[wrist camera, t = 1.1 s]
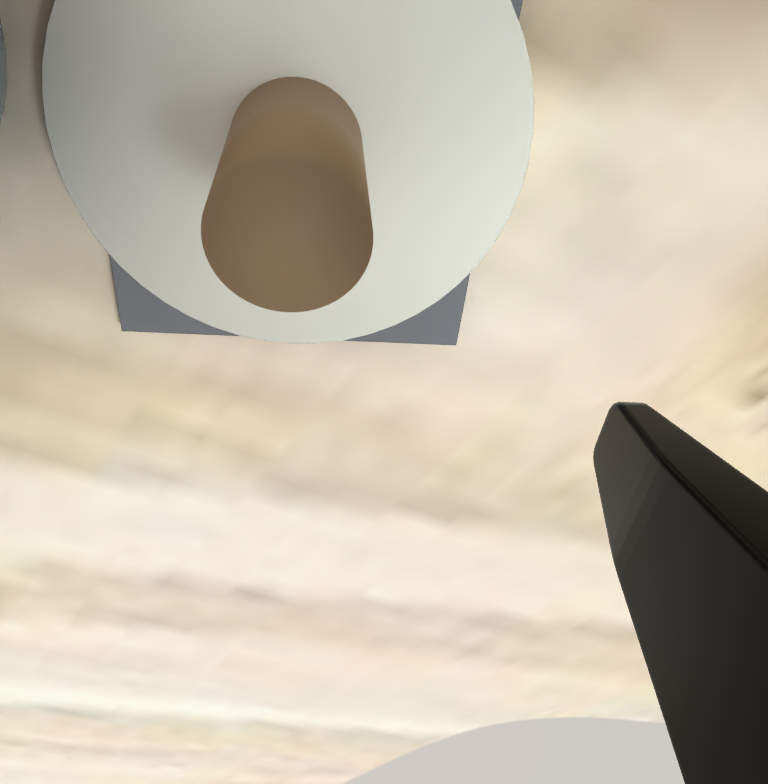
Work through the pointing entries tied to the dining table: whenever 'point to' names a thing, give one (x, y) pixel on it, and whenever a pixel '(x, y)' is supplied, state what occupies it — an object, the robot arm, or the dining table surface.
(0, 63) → the bowl
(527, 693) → the dining table surface
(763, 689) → the robot arm
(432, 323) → the mat
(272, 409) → the dining table surface
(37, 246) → the dining table surface
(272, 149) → the lid
